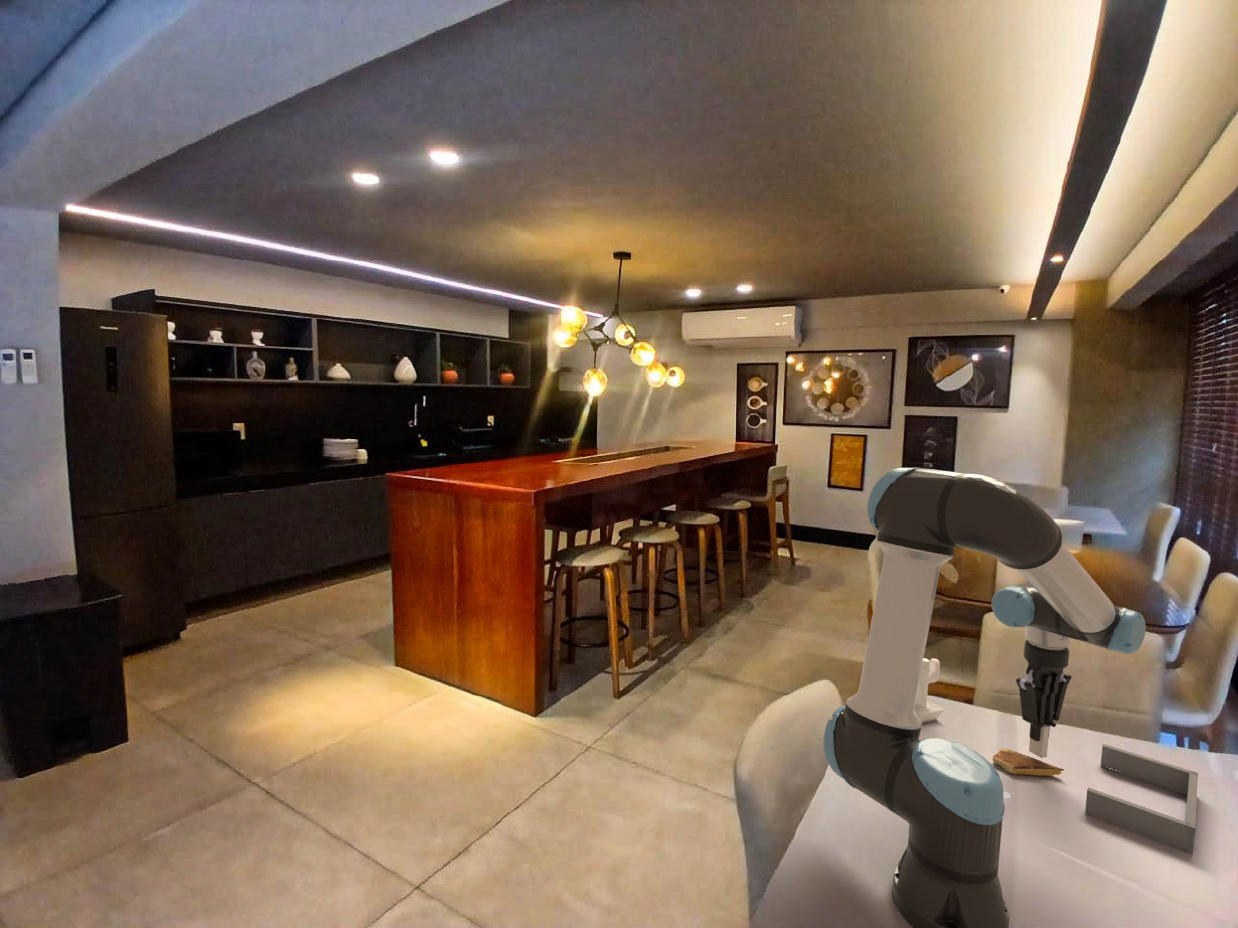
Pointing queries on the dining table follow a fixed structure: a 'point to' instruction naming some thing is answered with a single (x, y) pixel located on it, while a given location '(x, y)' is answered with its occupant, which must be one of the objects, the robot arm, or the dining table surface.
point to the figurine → (922, 706)
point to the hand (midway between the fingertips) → (1037, 753)
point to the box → (1139, 816)
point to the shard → (1023, 764)
